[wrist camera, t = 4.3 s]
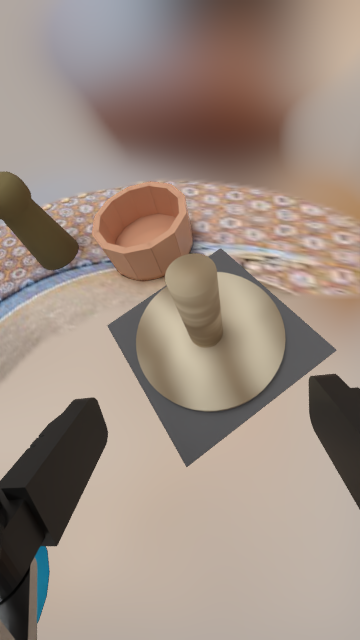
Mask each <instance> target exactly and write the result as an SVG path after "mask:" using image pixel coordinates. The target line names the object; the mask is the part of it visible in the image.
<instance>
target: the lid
mask: <svg viewBox="0 0 360 640" xmlns="http://www.w3.org/2000/svg"><path fill="white" fill-rule="evenodd" d="M165 282H166V285H167V286H166V287H165V288H164V289H162V290H161V291H160V292H159V293H158V294H157V295H156V296H155V297H154V298H153V299H152V300H151V302H150V303H149V304H148V306H147V307H146V309H145V311H144V313H143V315H142V317H141V319H140V322H139V325H138V330H137V335H136V351H137V357H138V361H139V364H140V367H141V369H142V371H143V373H144V375H145V377H146V378H147V380H148V381H149V382H150V384H151V385H152V386H153V387H154V388H155V389H156V390H157V391H158V392H159V393H160V394H162V395H163V396H164V397H166V398H167V399H169V400H171V401H172V402H174V403H176V404H178V405H180V406H183V407H185V408H189V409H192V410H197V411H205V412H215V411H223V410H228V409H231V408H235V407H238V406H240V405H242V404H244V403H246V402H248V401H250V400H251V399H253V398H254V397H256V396H257V395H258V394H259V393H260V392H261V391H263V390H264V389H265V387H266V386H267V385H268V384H269V383H270V381H271V380H272V379H273V377H274V375H275V374H276V372H277V370H278V369H279V366H280V364H281V361H282V359H283V354H284V350H285V340H286V339H285V328H284V324H283V320H282V317H281V315H280V312H279V310H278V308H277V307H276V305H275V303H274V302H273V301H272V299H271V298H270V297H269V296H268V295H267V294H266V293H265V292H264V290H262V289H261V288H260V287H258V286H257V285H256V284H254V283H252V282H251V281H249V280H247V279H245V278H243V277H240V276H237V275H234V274H229V273H224V272H217V268H216V265H215V263H214V262H213V261H212V260H211V259H210V258H209V257H207V256H205V255H202V254H197V253H191V254H186V255H183V256H181V257H179V258H177V259H175V260H174V261H173V262H172V263H171V264H170V265H169V267H168V268H167V270H166V273H165Z"/></svg>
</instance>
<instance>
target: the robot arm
mask: <svg viewBox="0 0 360 640" xmlns="http://www.w3.org/2000/svg"><path fill="white" fill-rule="evenodd" d="M309 413H310V419H311V423H312V426H313V429H314V431H315V433H316V435H317V436H318V438H319V440H320V441H321V443H322V445H323V447H324V448H325V450H326V452H327V454H328V455H329V457H330V459H331V460H332V462H333V464H334V466H335V467H336V469H337V471H338V473H339V474H340V476H341V478H342V479H343V481H344V483H345V485H346V486H347V488H348V490H349V492H350V493H351V495H352V497H353V498H354V500H355V502H356V504H357V505H358V507H359V509H360V389H359V388H350V387H349V386H347V384H346V383H345V382H344V381H343V380H342V379H341V378H340V377H339V376H337V375H336V374H327V375H317V376H311V377H310V378H309ZM107 437H108V431H107V427H106V424H105V421H104V418H103V415H102V412H101V409H100V407H99V404H98V401H97V400H96V399H95V398H84V399H75V400H73V401H72V402H71V404H70V405H69V406H68V407H67V408H66V410H65V411H64V412H63V413H62V414H61V415H60V416H58V417H57V418H56V419H55V420H53V421H52V422H51V423H49V424H48V425H47V427H46V428H45V429H44V430H43V431H42V433H41V434H40V435H39V438H37V439H36V440H35V441H34V442H33V443H32V444H31V445H30V448H29V449H27V450H26V451H25V453H24V454H23V455H22V456H21V457H20V458H19V460H18V461H17V462H16V463H15V464H14V465H13V467H12V468H11V469H10V470H9V471H8V473H7V474H6V475H5V476H4V477H3V478H2V480H1V481H0V640H37V561H36V559H35V555H36V553H37V552H38V550H39V548H40V546H57V545H58V543H59V541H60V539H61V537H62V535H63V532H64V530H65V528H66V526H67V524H68V522H69V520H70V518H71V516H72V514H73V512H74V510H75V508H76V506H77V504H78V502H79V499H80V497H81V495H82V493H83V491H84V489H85V487H86V485H87V483H88V481H89V479H90V477H91V475H92V472H93V470H94V468H95V466H96V464H97V462H98V460H99V458H100V456H101V454H102V452H103V450H104V448H105V445H106V443H107Z"/></svg>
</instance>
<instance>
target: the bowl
mask: <svg viewBox="0 0 360 640" xmlns="http://www.w3.org/2000/svg"><path fill="white" fill-rule="evenodd" d="M92 235H93V236H94V237H95V239H96V240H97V242H98V243H99V245H100V246H101V247H102V249H103V250H104V252H105V253H106V255H107V256H108V257H109V259H110V260H111V262H112V263H113V264H114V266H115V267H116V269H117V270H118V272H119V273H120V274H122V275H124V276H126V277H128V278H130V279H134V280H153V279H157V278H160V277H163V276H165V273H166V270H167V268H168V267H169V265H170V264H171V263H172V262H173V261H174V260H175V259H177V258H179V257H181V256H183V255H186V254H189V253H190V251H191V248H192V244H193V237H192V231H191V224H190V219H189V214H188V209H187V204H186V199H185V195H184V194H183V193H182V192H180V191H179V190H178V189H177V188H175V187H174V186H173V185H172V184H167V183H159V182H151V181H150V182H146V183H142V184H138V185H134V186H130V187H127V188H125V189H124V190H122V191H120V192H119V193H117V194H115V195H114V196H112V197H111V198H109V199H108V200H107V201H106V202H105V203H104V205H103V206H102V207H101V208H100V210H99V211H98V212H97V214H96V215H95V216H94V223H93V229H92Z"/></svg>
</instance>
